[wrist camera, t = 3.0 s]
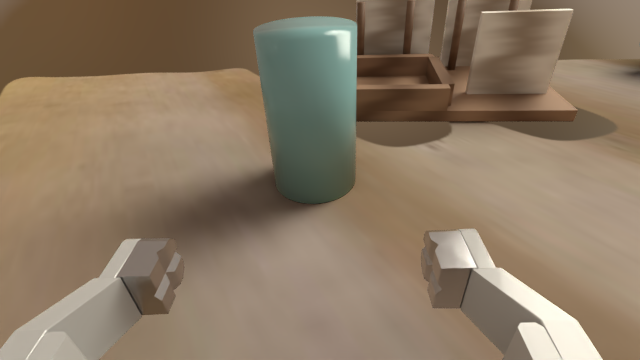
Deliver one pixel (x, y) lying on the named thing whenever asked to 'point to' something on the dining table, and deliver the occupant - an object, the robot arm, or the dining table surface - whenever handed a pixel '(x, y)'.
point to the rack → (459, 62)
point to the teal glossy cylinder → (310, 104)
